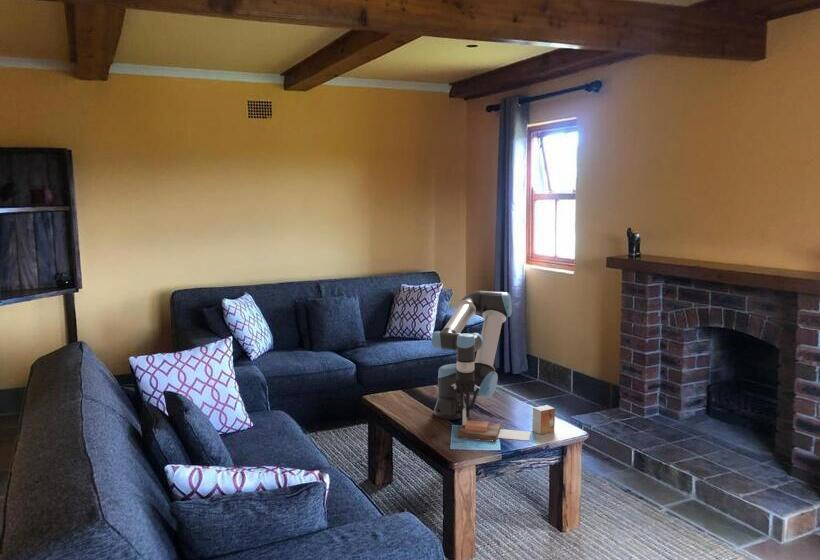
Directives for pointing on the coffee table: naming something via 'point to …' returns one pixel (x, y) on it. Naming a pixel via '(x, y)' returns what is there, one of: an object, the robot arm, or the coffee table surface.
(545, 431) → the small box
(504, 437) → the mat
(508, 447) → the coffee table surface
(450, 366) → the robot arm
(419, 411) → the coffee table surface
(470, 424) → the salmon flat rectangular block
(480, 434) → the board
